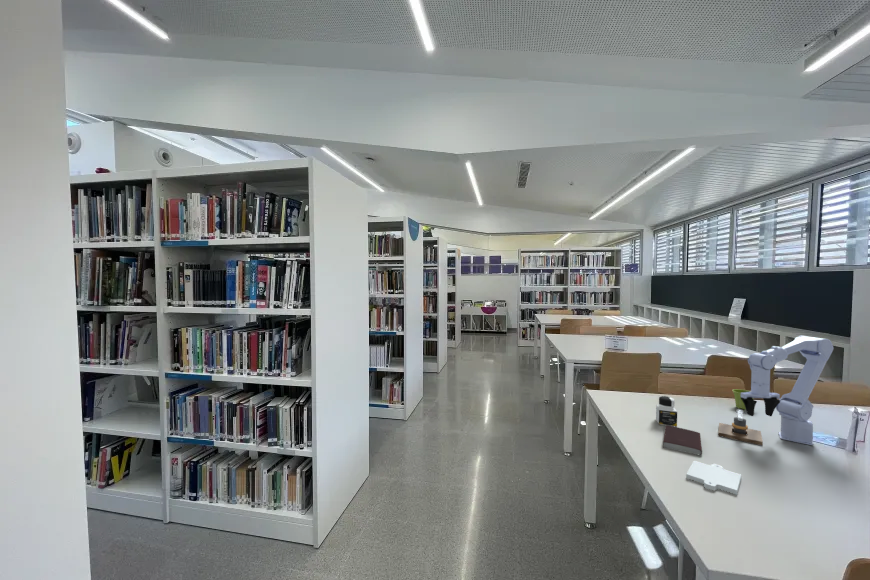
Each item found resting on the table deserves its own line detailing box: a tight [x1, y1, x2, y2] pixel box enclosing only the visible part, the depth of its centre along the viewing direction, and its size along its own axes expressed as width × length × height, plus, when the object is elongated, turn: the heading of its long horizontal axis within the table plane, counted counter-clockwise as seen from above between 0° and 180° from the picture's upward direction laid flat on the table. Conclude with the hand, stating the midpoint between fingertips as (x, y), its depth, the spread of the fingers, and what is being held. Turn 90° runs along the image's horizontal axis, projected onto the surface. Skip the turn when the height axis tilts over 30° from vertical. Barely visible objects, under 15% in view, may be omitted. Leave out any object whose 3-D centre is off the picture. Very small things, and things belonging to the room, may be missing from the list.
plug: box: [731, 416, 749, 435], centre depth 154 cm, size 5×5×7 cm
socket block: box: [717, 413, 764, 447], centre depth 154 cm, size 14×14×8 cm
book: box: [662, 425, 703, 456], centre depth 146 cm, size 13×19×3 cm, turn 145°
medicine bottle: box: [655, 395, 678, 427], centre depth 166 cm, size 7×7×12 cm
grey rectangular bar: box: [735, 408, 744, 421], centre depth 154 cm, size 13×2×1 cm, turn 140°
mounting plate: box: [685, 460, 742, 496], centre depth 119 cm, size 18×13×2 cm
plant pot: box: [731, 388, 755, 411], centre depth 188 cm, size 9×9×9 cm
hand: (759, 415), depth 148 cm, fingers open, 7 cm apart
